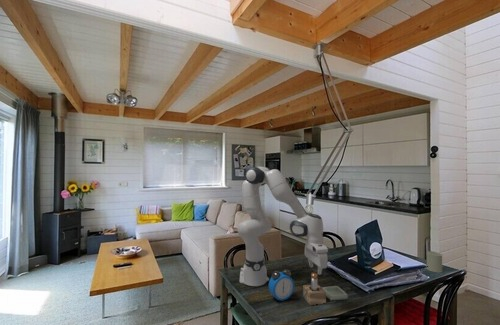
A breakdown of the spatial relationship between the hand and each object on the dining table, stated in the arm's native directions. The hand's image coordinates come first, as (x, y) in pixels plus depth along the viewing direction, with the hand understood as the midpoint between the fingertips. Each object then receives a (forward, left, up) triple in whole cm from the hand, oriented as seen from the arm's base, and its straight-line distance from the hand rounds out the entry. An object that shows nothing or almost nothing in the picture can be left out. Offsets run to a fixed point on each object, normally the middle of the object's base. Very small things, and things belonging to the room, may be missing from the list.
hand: (315, 270), depth 135 cm
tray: (-3, +13, -16) cm, 21 cm away
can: (-21, +102, -16) cm, 105 cm away
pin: (0, 0, -16) cm, 16 cm away
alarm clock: (-5, -17, -16) cm, 24 cm away
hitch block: (0, 0, -16) cm, 16 cm away
